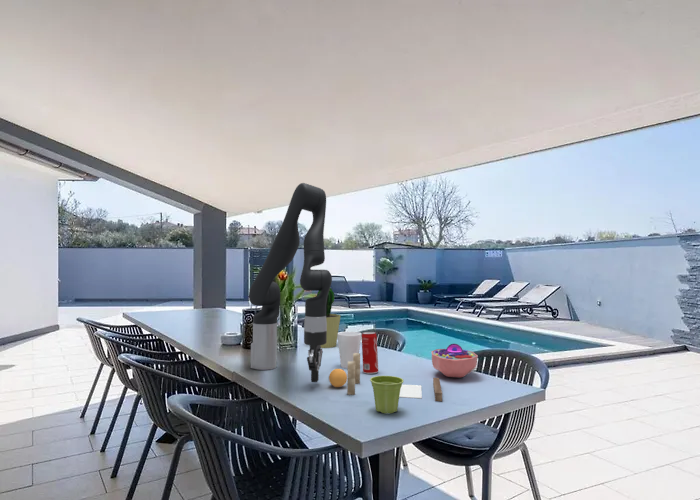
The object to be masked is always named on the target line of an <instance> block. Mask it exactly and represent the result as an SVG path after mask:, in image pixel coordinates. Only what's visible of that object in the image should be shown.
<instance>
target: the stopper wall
mask: <svg viewBox="0 0 700 500" xmlns="http://www.w3.org/2000/svg"><path fill="white" fill-rule="evenodd" d="M432 385H433V387H432V388H433V392H434V393H433V394H434V401H435V402H443V391H442V385H441V381H440V377H433V378H432Z"/></svg>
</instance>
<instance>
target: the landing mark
mask: <svg viewBox="0 0 700 500" xmlns="http://www.w3.org/2000/svg"><path fill="white" fill-rule="evenodd" d="M422 390H423V389H422V385H420V384H419V385H417V384H403V383H402V386H401V389H400V395H399V398H408V399H422V398H423V396H422V395H423V393H422Z"/></svg>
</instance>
